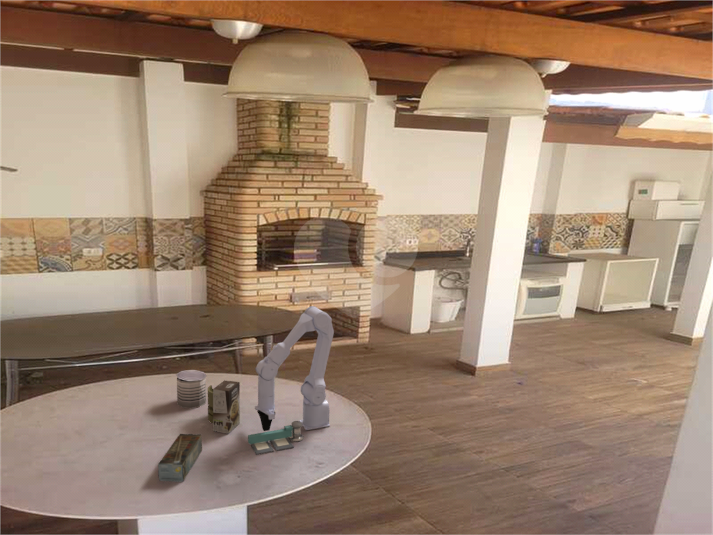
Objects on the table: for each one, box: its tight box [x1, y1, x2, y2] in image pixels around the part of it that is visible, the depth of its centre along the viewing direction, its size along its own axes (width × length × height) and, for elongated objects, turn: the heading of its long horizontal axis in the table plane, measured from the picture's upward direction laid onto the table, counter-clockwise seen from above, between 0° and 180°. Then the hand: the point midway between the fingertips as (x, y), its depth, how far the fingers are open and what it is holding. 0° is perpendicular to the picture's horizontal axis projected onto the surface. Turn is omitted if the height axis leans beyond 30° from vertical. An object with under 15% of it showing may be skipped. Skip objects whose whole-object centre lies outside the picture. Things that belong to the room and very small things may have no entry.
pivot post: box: [288, 427, 305, 443], centre depth 195 cm, size 5×5×4 cm
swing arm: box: [247, 420, 303, 445], centre depth 192 cm, size 19×4×4 cm, turn 115°
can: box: [175, 369, 208, 409], centre depth 220 cm, size 11×11×12 cm
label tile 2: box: [269, 437, 295, 452], centre depth 192 cm, size 6×10×1 cm, turn 25°
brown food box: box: [207, 385, 214, 424], centre depth 208 cm, size 11×12×11 cm
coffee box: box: [212, 379, 241, 434], centre depth 200 cm, size 9×6×16 cm
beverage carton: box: [157, 433, 203, 483], centre depth 176 cm, size 8×19×7 cm, turn 178°
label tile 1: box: [249, 441, 275, 456], centre depth 189 cm, size 6×10×1 cm, turn 25°
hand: (266, 429), depth 198 cm, fingers closed
